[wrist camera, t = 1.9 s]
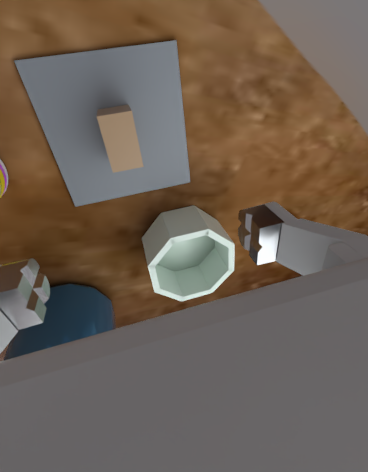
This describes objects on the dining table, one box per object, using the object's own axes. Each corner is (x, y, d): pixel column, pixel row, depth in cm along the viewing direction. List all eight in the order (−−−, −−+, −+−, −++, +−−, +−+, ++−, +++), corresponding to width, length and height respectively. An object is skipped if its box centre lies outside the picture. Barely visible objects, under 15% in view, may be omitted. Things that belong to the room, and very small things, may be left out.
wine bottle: (89, 265, 35) (55, 717, 11) (128, 318, 43) (157, 642, 19) (-6, 303, 34) (-265, 869, 10) (52, 349, 42) (-18, 724, 18)
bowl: (136, 218, 32) (142, 245, 27) (216, 200, 34) (234, 222, 29) (152, 277, 39) (158, 307, 34) (218, 260, 40) (233, 286, 36)
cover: (17, 60, 21) (-3, 60, 18) (173, 40, 23) (187, 36, 20) (76, 202, 30) (71, 224, 26) (188, 179, 32) (200, 195, 28)
